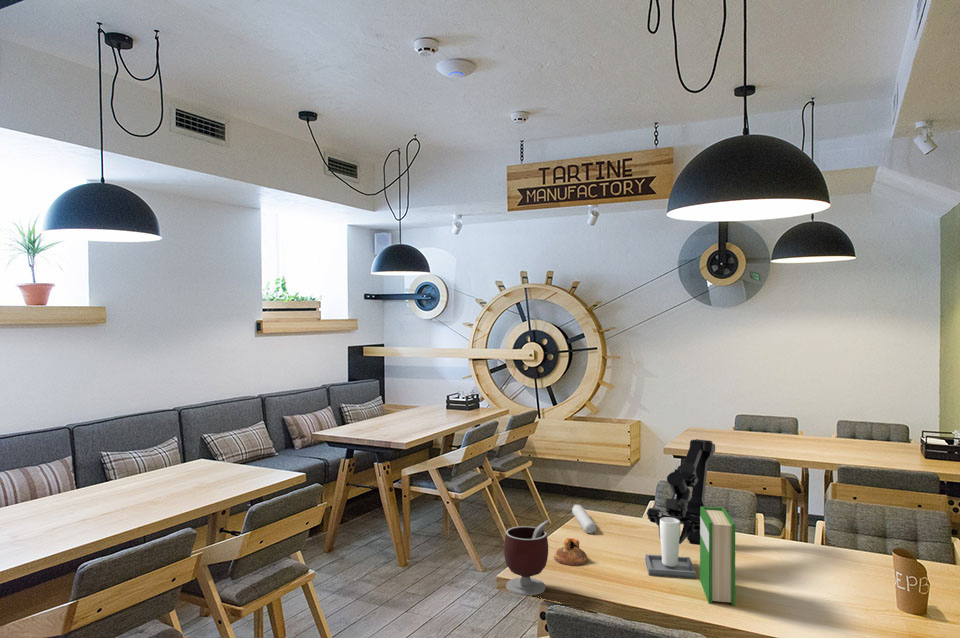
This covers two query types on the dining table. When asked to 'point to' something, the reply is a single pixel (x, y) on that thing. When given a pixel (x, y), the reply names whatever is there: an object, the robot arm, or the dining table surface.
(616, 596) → the dining table surface
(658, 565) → the serving tray
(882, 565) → the dining table surface
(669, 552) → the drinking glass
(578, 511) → the tube
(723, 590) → the hardback book
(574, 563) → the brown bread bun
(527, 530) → the mate gourd
